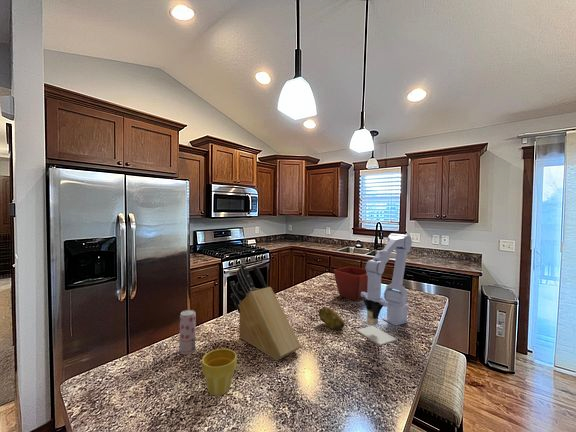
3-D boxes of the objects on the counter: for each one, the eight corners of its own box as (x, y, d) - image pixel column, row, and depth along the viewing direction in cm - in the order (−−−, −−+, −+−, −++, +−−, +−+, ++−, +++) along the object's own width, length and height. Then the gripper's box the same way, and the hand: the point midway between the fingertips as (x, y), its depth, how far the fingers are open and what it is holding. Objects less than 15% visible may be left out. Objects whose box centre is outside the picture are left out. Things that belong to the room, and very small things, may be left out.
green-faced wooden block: (373, 321, 119) (373, 308, 119) (377, 323, 117) (377, 310, 117) (367, 323, 117) (367, 310, 117) (371, 325, 115) (371, 312, 115)
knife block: (247, 323, 125) (248, 259, 124) (301, 353, 100) (303, 273, 99) (227, 330, 117) (228, 262, 116) (280, 365, 92) (282, 279, 91)
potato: (331, 333, 116) (332, 316, 116) (315, 322, 128) (316, 306, 127) (346, 330, 120) (346, 313, 120) (329, 319, 132) (329, 303, 131)
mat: (372, 326, 124) (372, 325, 124) (396, 340, 112) (396, 339, 112) (356, 331, 120) (356, 329, 120) (379, 345, 107) (379, 344, 107)
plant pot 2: (349, 289, 180) (350, 265, 180) (374, 297, 166) (375, 271, 166) (332, 295, 167) (333, 269, 167) (358, 304, 153) (359, 276, 153)
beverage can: (179, 348, 102) (179, 310, 101) (195, 345, 104) (195, 308, 103) (179, 356, 96) (179, 316, 96) (195, 353, 98) (196, 314, 98)
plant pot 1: (205, 377, 85) (206, 348, 84) (237, 376, 86) (238, 347, 85) (197, 401, 74) (197, 367, 74) (234, 399, 75) (234, 366, 75)
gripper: (356, 283, 121) (355, 312, 122) (380, 293, 108) (379, 325, 109) (367, 282, 125) (366, 310, 125) (392, 291, 112) (390, 322, 112)
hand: (373, 316), depth 117 cm, fingers closed on green-faced wooden block, 2 cm apart
